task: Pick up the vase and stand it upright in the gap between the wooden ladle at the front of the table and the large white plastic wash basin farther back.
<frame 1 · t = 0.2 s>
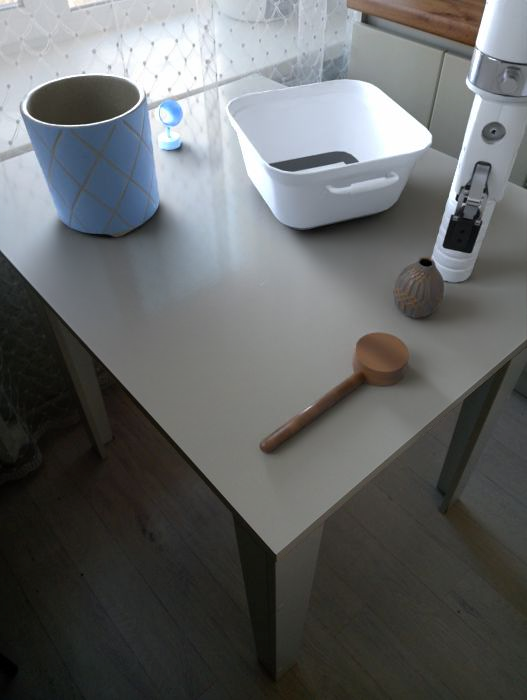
hand: (462, 225, 64), 19 cm above the table, tool pointing down, fingers open, 9 cm apart
water bottle: (452, 267, 89), on the table
ladle: (336, 397, 71), on the table
vase: (413, 309, 82), on the table
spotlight: (170, 146, 116), on the table
planter: (110, 210, 100), on the table
white plastic wash basin: (318, 199, 102), on the table
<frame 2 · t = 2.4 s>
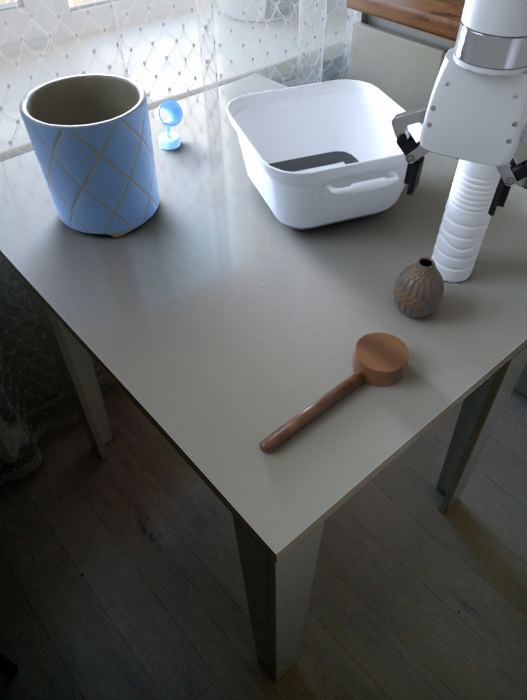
hand: (451, 199, 66), 20 cm above the table, tool pointing down, fingers open, 9 cm apart
nothing on the table moved.
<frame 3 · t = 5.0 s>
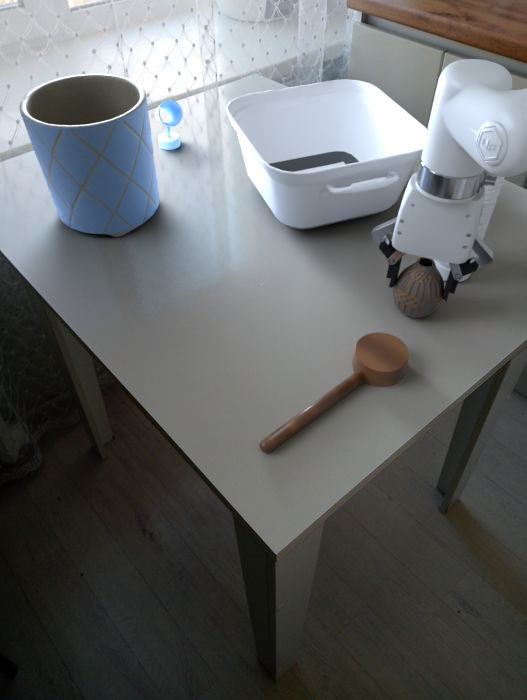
hand: (419, 287, 79), 4 cm above the table, tool pointing down, fingers closed on vase, 6 cm apart
vase: (413, 309, 82), on the table, touching gripper
everything else where it was.
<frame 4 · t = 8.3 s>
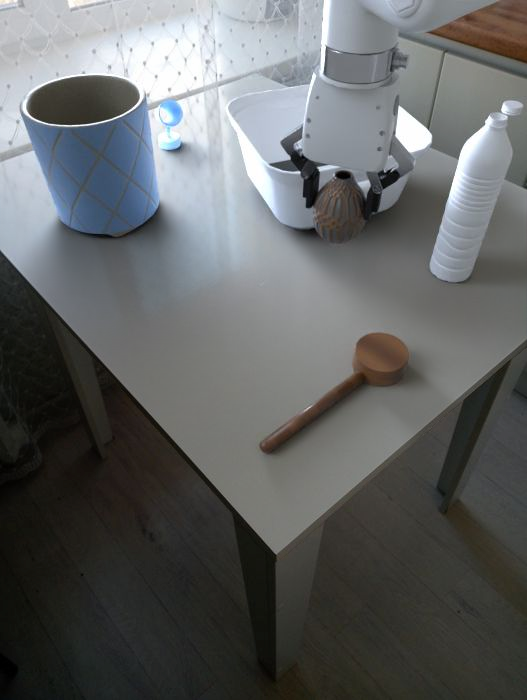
hand: (339, 208, 70), 17 cm above the table, tool pointing down, fingers closed on vase, 6 cm apart
vase: (336, 236, 73), point 13 cm above the table, touching gripper
everything else where it was.
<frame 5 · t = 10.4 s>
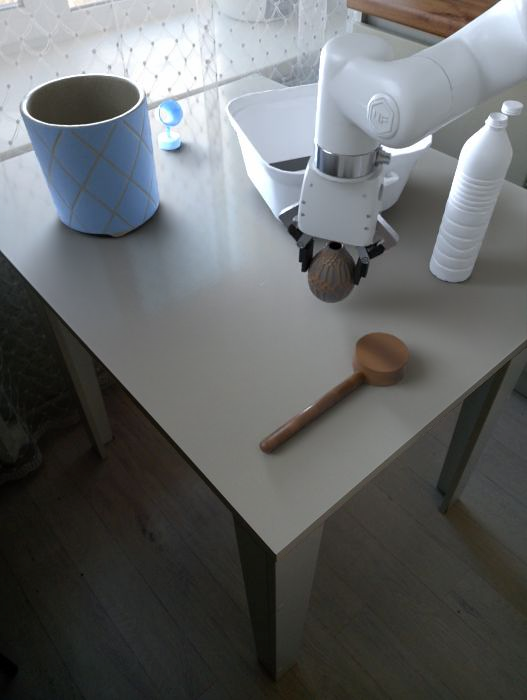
hand: (332, 271, 78), 7 cm above the table, tool pointing down, fingers closed on vase, 6 cm apart
vase: (329, 294, 81), point 2 cm above the table, touching gripper
everything else where it was.
when the fingers open (4 cm above the table, at t = 11.7 s): vase stays where it is, on the table.
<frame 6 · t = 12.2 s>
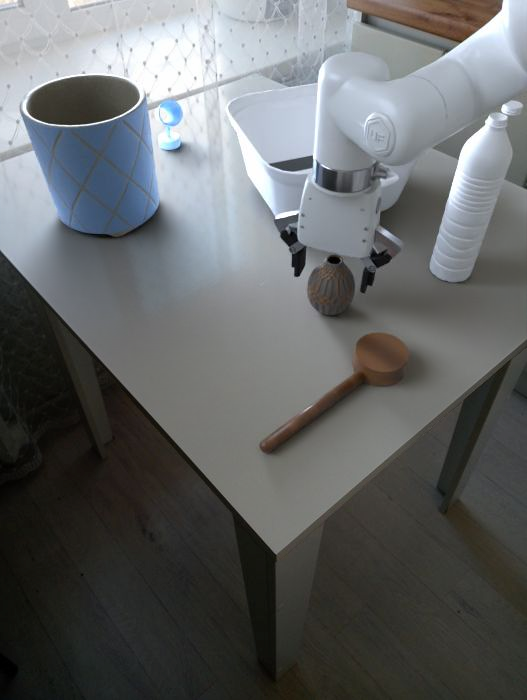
hand: (331, 279, 79), 5 cm above the table, tool pointing down, fingers open, 9 cm apart
vase: (328, 307, 83), on the table
everything else where it was.
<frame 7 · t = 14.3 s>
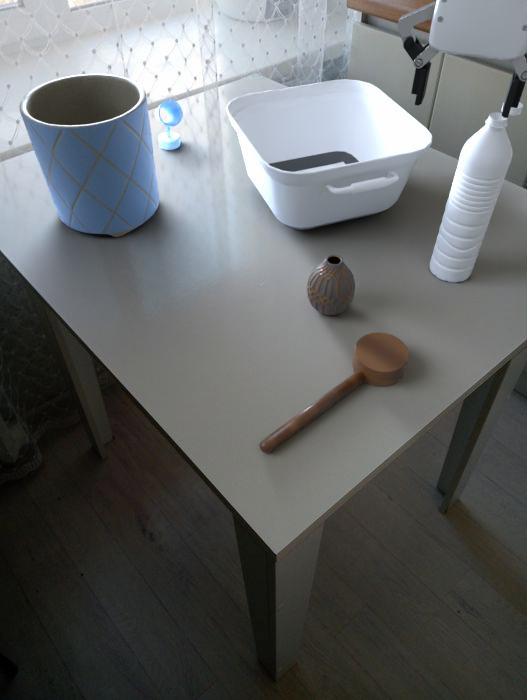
hand: (461, 106, 64), 28 cm above the table, tool pointing down, fingers open, 9 cm apart
nothing on the table moved.
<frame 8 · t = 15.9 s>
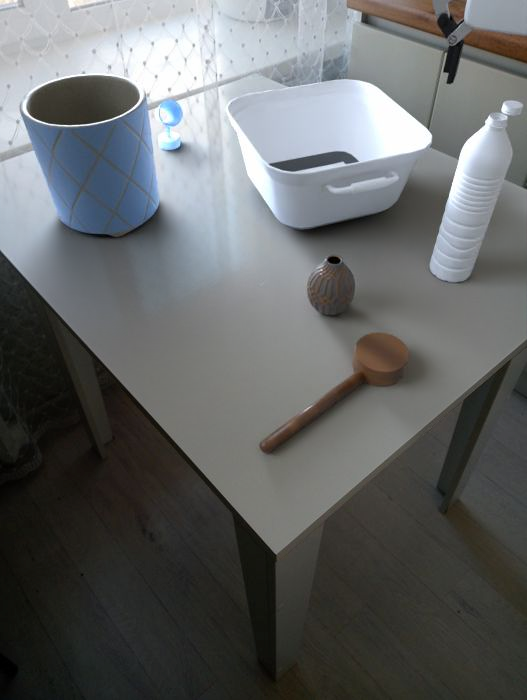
hand: (493, 85, 63), 30 cm above the table, tool pointing down, fingers open, 9 cm apart
nothing on the table moved.
at the end: vase inside the target area on the table beside the ladle (0.1 cm from its centre), on the table; vase 28.8 cm from the white plastic wash basin (horizontally); vase tilted 0° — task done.
